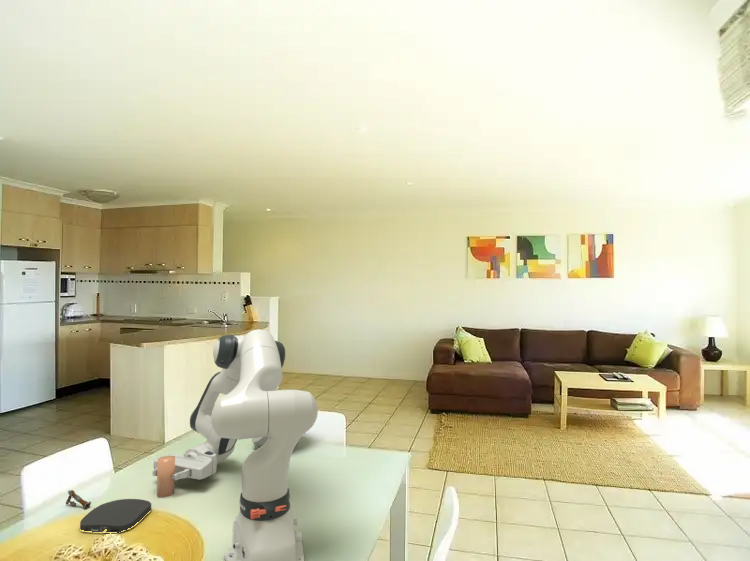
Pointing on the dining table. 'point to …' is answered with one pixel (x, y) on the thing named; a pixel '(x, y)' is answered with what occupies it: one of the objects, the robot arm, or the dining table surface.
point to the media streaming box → (115, 515)
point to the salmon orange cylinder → (165, 476)
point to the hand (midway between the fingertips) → (163, 475)
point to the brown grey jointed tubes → (78, 499)
